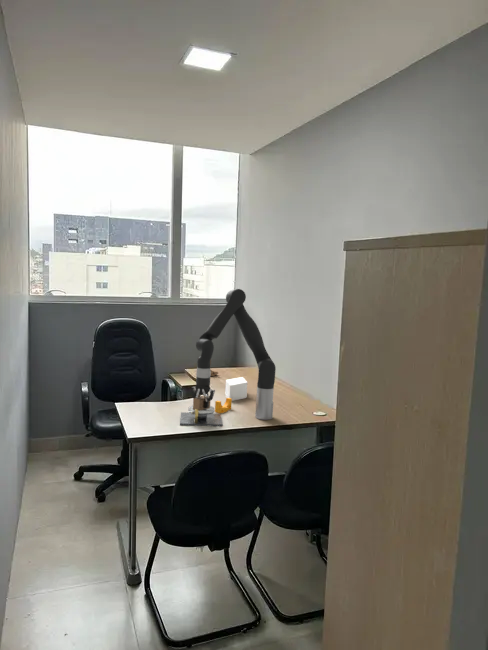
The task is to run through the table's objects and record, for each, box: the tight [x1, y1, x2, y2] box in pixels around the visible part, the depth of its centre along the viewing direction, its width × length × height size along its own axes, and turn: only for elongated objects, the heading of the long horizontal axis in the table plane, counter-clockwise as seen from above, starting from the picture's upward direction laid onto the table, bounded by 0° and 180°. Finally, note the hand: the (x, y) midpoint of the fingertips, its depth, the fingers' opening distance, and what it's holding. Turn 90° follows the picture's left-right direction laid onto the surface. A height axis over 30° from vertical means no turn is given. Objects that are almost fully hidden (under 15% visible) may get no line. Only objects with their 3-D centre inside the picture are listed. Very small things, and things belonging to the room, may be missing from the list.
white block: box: [224, 376, 248, 402], centre depth 321 cm, size 14×29×10 cm, turn 165°
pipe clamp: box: [214, 397, 233, 414], centre depth 286 cm, size 12×4×6 cm, turn 144°
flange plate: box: [188, 395, 216, 415], centre depth 263 cm, size 17×14×8 cm
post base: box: [179, 411, 224, 427], centre depth 265 cm, size 22×20×5 cm
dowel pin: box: [195, 409, 198, 423], centre depth 257 cm, size 2×2×7 cm
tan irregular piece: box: [210, 363, 219, 377], centre depth 381 cm, size 15×12×15 cm
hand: (201, 407), depth 265 cm, fingers closed on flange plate, 4 cm apart
